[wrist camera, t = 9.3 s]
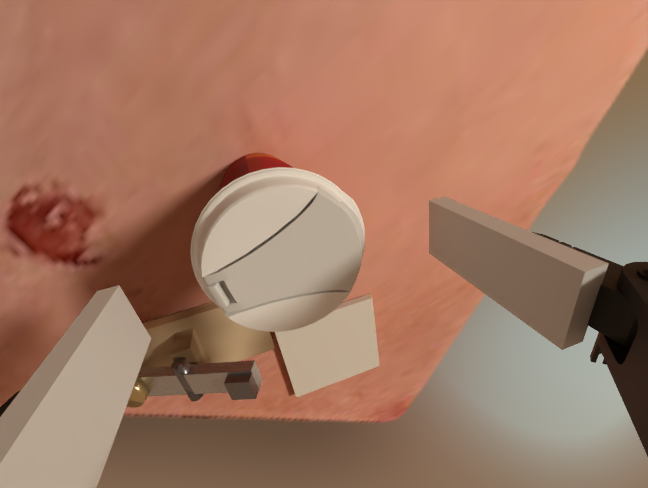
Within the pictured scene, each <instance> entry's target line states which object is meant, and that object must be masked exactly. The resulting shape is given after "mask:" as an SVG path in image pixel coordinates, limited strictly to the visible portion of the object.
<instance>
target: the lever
mask: <svg viewBox="0 0 648 488" xmlns="http://www.w3.org/2000/svg"><path fill="white" fill-rule="evenodd" d="M261 384H262V377H261V375H260V372H259V370H258V367H257V365H256V362H255V360H253V361H237V362H221V363H205V364H189V363H188V361H187V359H186V358H185V357H180V358H178V359H176V360H175V361H174V362H173V363H172V365H171V366H158V367H142V368H140V371H139V373H138V376H137V379H136V381H135V384H134V387H133V390H132V392H131V395H130V398H129V400H128V403H127V407H139V406H141V405H142V404H143V403H144V401H145V400H146V398H147V397H148V396H166V395H186V394H187V395H188V397H189V398H190V400H191V401H197V400H199V399H200V398H201V397H202V396H203V395H204V394H207V393H227V392H228V393H229V395H230V397H231V399H232V400H239V399H256V397H257V394H258V391H260V387H261Z"/></svg>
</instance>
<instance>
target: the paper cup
mask: <svg viewBox="0 0 648 488" xmlns="http://www.w3.org/2000/svg"><path fill="white" fill-rule="evenodd" d="M364 235H365V230H364V224H363V219H362V217H361V214H360V211H359V209H358V207H357V205H356V203H355V202H354V200H353V199H352V198H351V197H349V196H348V195H347V194H346V193H344V192H343V191H342V190H341V189H340V188H338V187H337V186H336V185H335V184H334V183H332V182H331V181H329V180H327V179H326V178H324V177H322V176H320V175H318V174H315V173H313V172H310V171H307V170H302V169H297V168H293V167H292V166H290V165H288V164H286V163H285V162H283V161H281V160H279V159H277V158H275V157H273V156H271V155H267V154H262V153H253V154H248V155H245V156H243V157H241V158H239V159H237V160H236V161H235V162H234V163H233V164H232V165H231V166H230V167H229V169H228V171H227V172H226V174H225V176H224V178H223V181H222V183H221V185H220V188H219V190H218V192H217V194H216V195H215V196H214V197H212V198H211V199H210V201H209V202H208V203H207V205H206V206H205V208H204V209H203V210H202V212H201V214H200V216H199V218H198V220H197V222H196V224H195V227H194V231H193V235H192V238H191V250H190V254H191V263H192V268H193V271H194V274H195V277H196V279H197V281H198V283H199V285H200V287H201V289H202V290H203V291H204V292H205V294H206V295H207V296H208V298H209V299H210V300H212V301H213V302H214V303H215V304H216V305H217V306H218V307H219V308H221V309H222V310H224V312H225V316H226V317H228V318H229V319H231V320H232V321H234V322H236V323H238V324H240V325H242V326H245V327H247V328H251V329H255V330H259V331H267V332H282V331H290V330H294V329H298V328H302V327H305V326H308V325H310V324H313V323H315V322H317V321H319V320H320V319H322V318H324V317H325V316H327V315H328V314H330V313H331V312H333V311H334V310H335V309H336V308H337V307H338V306H339V305H340V304H341V303H342V302H343V301H344V300H345V299H346V298H347V296H348V295H349V293H350V291H351V290H352V287H353V285H354V283H355V281H356V278H357V275H358V273H359V270H360V266H361V260H362V256H363V252H364V246H365V238H364Z"/></svg>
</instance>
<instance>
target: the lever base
mask: <svg viewBox="0 0 648 488" xmlns="http://www.w3.org/2000/svg"><path fill="white" fill-rule="evenodd" d="M142 324H143V325H144V327H145V329H146V330H147V332H148V334H149V335H150V337H151V341H150V343H149V346H148V349H147V352H146V354H145V357H144V360H143V362H142V365H141V368H142V367H158V366H171V365H172V363H173V362H174V361H175V360H176V359H178V358H180V357H185V358H186V359H187V361H188V363H189V364H205V363H221V362H237V361H240V360H243V359H246V358H249V357H252V356H255V355H258V354H261V353H264V352H267V351H269V350H272V349H275V348H274V342H273V339H272V336H271V333H270V332H267V331H259V330H255V329H251V328H247V327H245V326H242V325H240V324H238V323H236V322H234V321H232V320H231V319H229V318H228V317H226V316H225V312H224V310H222V309H221V308H219V307H218V306H217V305H216V304H215V303H214V302H211V303H207V304H204V305H201V306H197V307H194V308H191V309H187V310H184V311H181V312H178V313H174V314H171V315H168V316H164V317H161V318H158V319H154V320H151V321H148V322H145V323H142Z"/></svg>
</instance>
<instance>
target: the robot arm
mask: <svg viewBox="0 0 648 488" xmlns="http://www.w3.org/2000/svg"><path fill="white" fill-rule="evenodd" d="M429 253H430V254H431V255H433V256H434V257H435V258H437V259H438V260H439V261H441V262H442V263H444V264H445V265H446V266H448V267H449V268H450V269H452V270H453V271H455V272H456V273H457V274H459V275H460V276H461V277H463V278H464V279H466V280H467V281H468V282H470V283H471V284H472V285H474V286H475V287H476V288H478V289H479V290H481V291H482V292H483V293H485V294H486V295H487V296H489V297H490V298H492V299H493V300H495V301H496V302H497V303H498V304H500V305H501V306H503V307H504V308H506V309H507V310H508V311H510V312H511V313H512V314H514V315H515V316H517V317H518V318H519V319H520V320H522V321H523V322H525V323H526V324H527V325H529V326H530V327H531V328H533V329H534V330H536V331H537V332H538V333H540V334H541V335H542V336H544V337H545V338H547V339H548V340H549V341H551V342H552V343H553V344H555V345H556V346H558V347H559V348H560V349H562V350H563V349H565V348H567V347H570V346H573V345H575V344H577V343H580V342H582V341H583V339H584V336H585V333H586V330H587V327H588V325H589V326H590V327H592V328H594V329H595V330H597V331H598V332H599V334H598V336H597V339H596V342H595V345H594V347H593V350H592V353H591V355H590V357H591V362H596V360H597V358H598V355H599V354H601V353H602V355H603V357H604V360H603V364H607V365H608V368H609V370H610V372H611V375H612V377H613V379H614V382H615V384H616V386H617V388H618V391H619V393H620V395H621V397H622V399H623V402H624V404H625V406H626V408H627V411H628V413H629V415H630V417H631V420H632V422H633V424H634V427H635V428H636V431H637V433H638V435H639V438H640V440H641V442H642V444H643V447H644V449H645V451H646V454H647V456H648V262H633V263H629V264H626V265H625V266H621V265H619V264H616V263H614V262H611V261H609V260H606V259H604V258H601V257H598V256H596V255H594V254H591V253H589V252H586V251H584V250H581V249H579V248H576V247H573V248H572V247H571V245H568V244H566V243H563V242H559V241H558V240H556V239H553V238H551V237H548V236H546V235H543V234H538V233H534V232H530V231H528V230H525V229H523V228H520V227H518V226H515V225H513V224H510V223H508V222H505V221H503V220H501V219H498V218H496V217H493V216H491V215H488V214H486V213H483V212H481V211H478V210H476V209H473V208H471V207H469V206H466V205H464V204H461V203H459V202H456V201H454V200H451V199H449V198H446V197H440V198H437V199H433V200H429ZM150 341H151V337H150V335H149V334H148V332H147V330H146V329H145V327H144V325H143V324H142V322H141V320H140V319H139V317H138V315H137V314H136V312H135V311H134V309H133V307H132V306H131V304H130V302H129V301H128V299H127V297H126V296H125V294H124V292H123V291H122V289H121V287H120V286H119V285H118V286H114V287H110V288H107V289H103V290H99V291H97V292H96V293H95V294H94V296H93V297H92V298H91V300H90V301H89V302H88V304H87V305H86V306H85V308H84V309H83V310H82V311H81V313H80V314H79V315H78V317H77V318H76V319H75V321H74V322H73V323H72V324H71V326H70V327H69V328H68V330H67V331H66V332H65V334H64V335H63V336H62V337H61V339H60V340H59V341H58V343H57V344H56V345H55V347H54V348H53V349H52V350H51V352H50V353H49V354H48V356H47V357H46V358H45V360H44V361H43V362H42V364H41V365H40V366H39V367H38V369H37V370H36V371H35V373H34V374H33V375H32V377H31V378H30V379H29V380H28V382H27V383H26V384H25V386H24V387H23V388H22V390H21V391H18V392H17V393H16V394H14V395H13V396H12V397H11V398H10V399H9V400H8V401H7V402H6V403H4V404H3V405H2V406H1V407H0V488H96V487H97V484H98V482H99V479H100V477H101V474H102V471H103V468H104V466H105V463H106V460H107V458H108V455H109V452H110V449H111V447H112V444H113V441H114V439H115V436H116V433H117V430H118V428H119V425H120V422H121V419H122V417H123V414H124V411H125V409H126V406H127V403H128V400H129V398H130V395H131V392H132V390H133V387H134V384H135V381H136V379H137V376H138V373H139V371H140V368H141V365H142V362H143V360H144V357H145V354H146V352H147V349H148V346H149V343H150Z"/></svg>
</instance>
